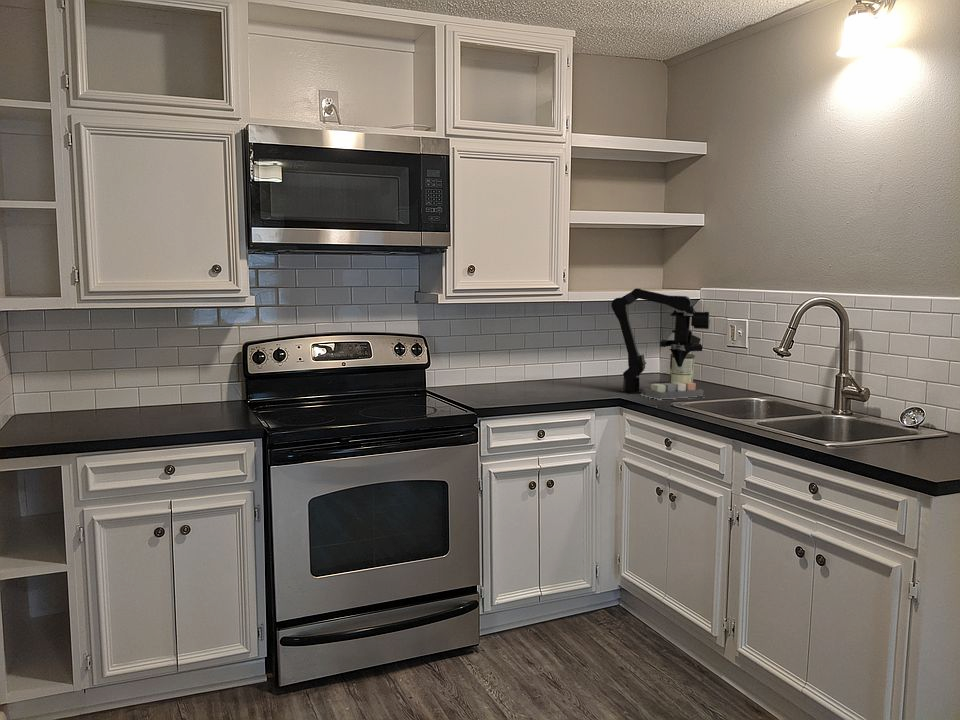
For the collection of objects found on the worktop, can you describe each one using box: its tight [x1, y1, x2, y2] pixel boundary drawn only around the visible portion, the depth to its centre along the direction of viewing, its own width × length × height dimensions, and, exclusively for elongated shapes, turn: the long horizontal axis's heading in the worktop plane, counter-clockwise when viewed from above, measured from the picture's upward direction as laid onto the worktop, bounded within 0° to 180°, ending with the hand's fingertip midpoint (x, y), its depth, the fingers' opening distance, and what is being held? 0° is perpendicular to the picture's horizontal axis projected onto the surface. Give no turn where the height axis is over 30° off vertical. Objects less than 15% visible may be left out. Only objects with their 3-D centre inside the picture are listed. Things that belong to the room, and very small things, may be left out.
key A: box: [650, 383, 666, 392], centre depth 310 cm, size 4×4×3 cm
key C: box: [671, 383, 686, 391], centre depth 314 cm, size 4×4×3 cm
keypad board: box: [639, 387, 704, 401], centre depth 313 cm, size 11×24×3 cm, turn 118°
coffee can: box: [668, 353, 696, 383], centre depth 341 cm, size 10×10×14 cm
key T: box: [681, 382, 697, 390], centre depth 317 cm, size 4×4×3 cm
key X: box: [661, 382, 676, 392], centre depth 312 cm, size 4×4×3 cm
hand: (679, 366), depth 313 cm, fingers closed
